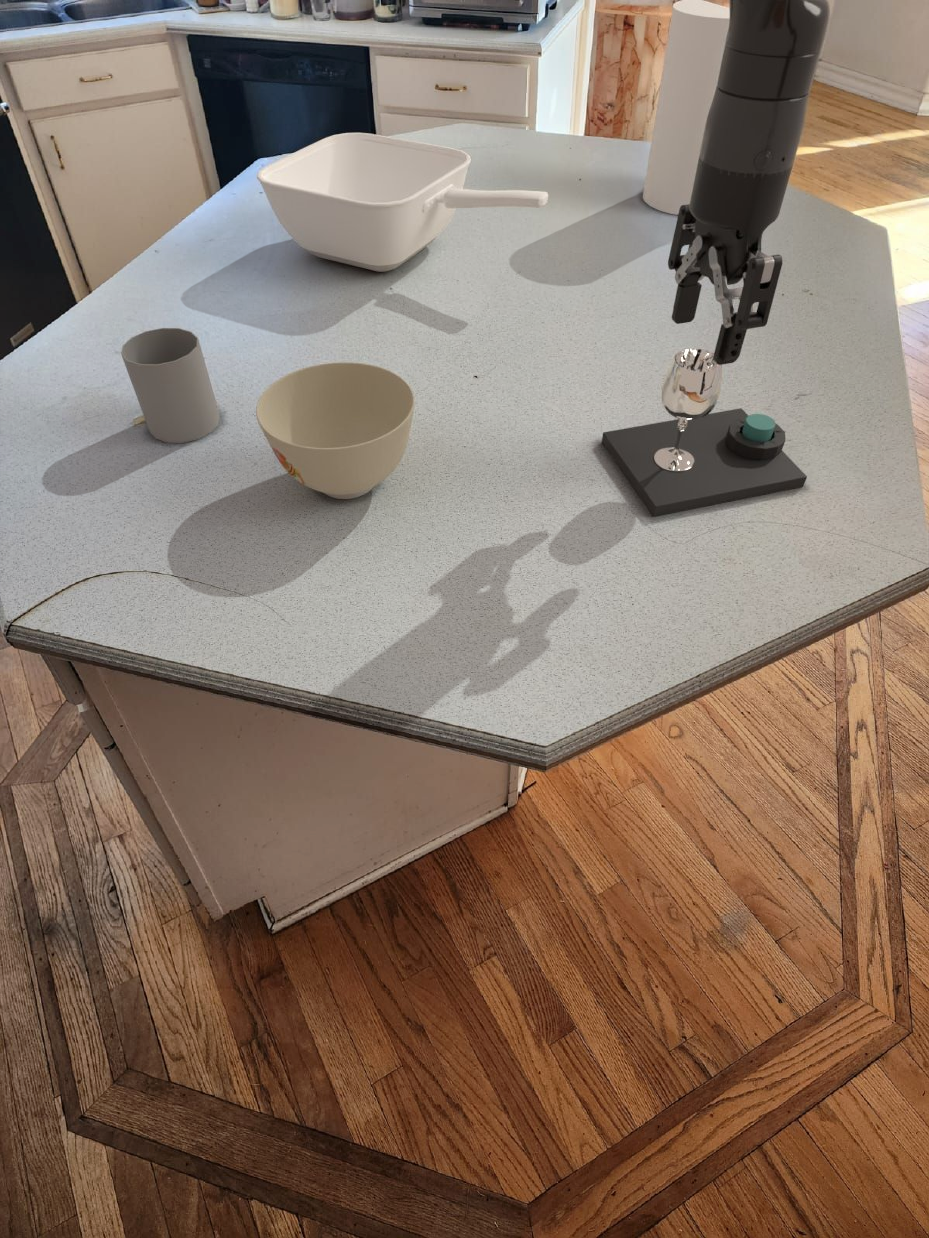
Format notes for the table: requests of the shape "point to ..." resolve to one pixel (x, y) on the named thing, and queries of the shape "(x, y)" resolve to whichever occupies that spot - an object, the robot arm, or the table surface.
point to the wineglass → (688, 399)
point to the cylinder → (684, 101)
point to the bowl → (338, 425)
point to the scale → (702, 462)
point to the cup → (171, 384)
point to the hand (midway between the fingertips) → (702, 341)
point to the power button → (758, 428)
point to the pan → (375, 197)
